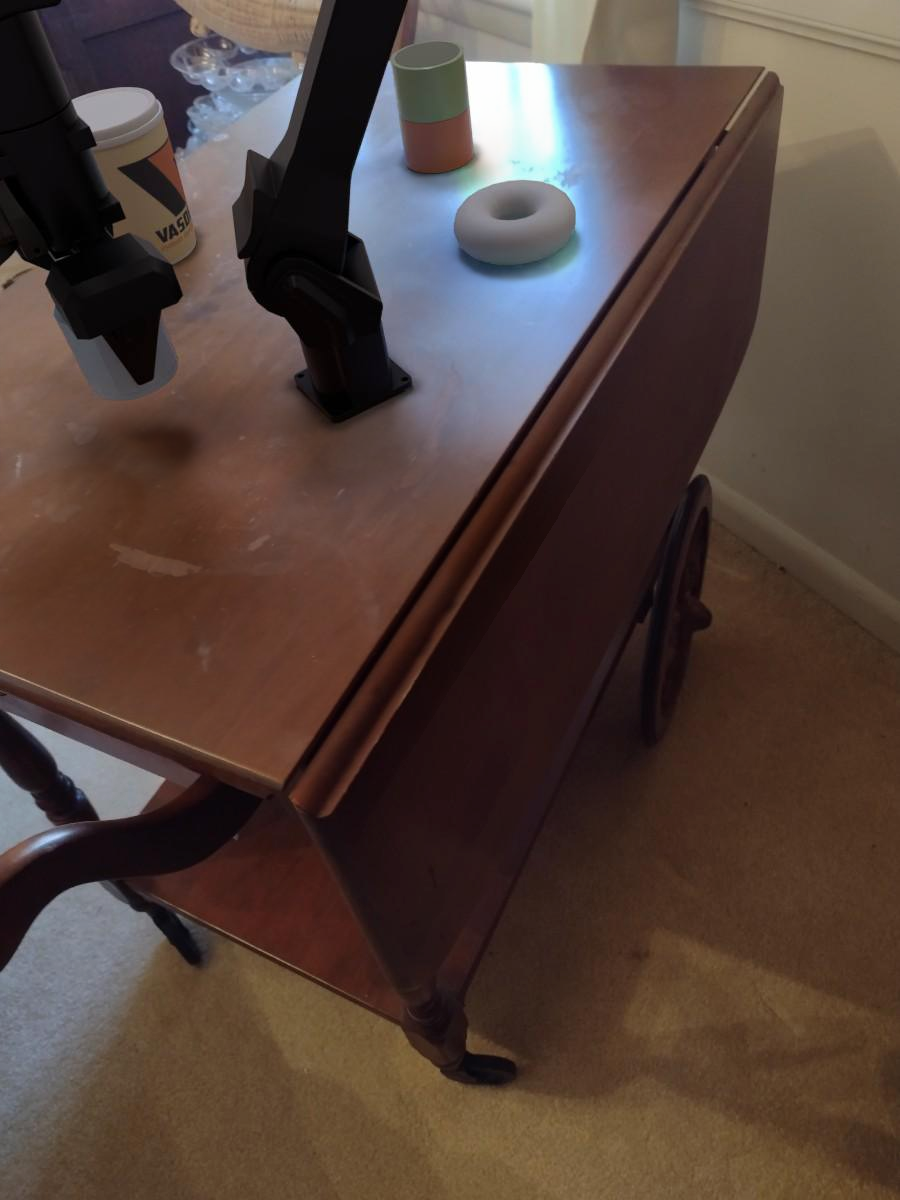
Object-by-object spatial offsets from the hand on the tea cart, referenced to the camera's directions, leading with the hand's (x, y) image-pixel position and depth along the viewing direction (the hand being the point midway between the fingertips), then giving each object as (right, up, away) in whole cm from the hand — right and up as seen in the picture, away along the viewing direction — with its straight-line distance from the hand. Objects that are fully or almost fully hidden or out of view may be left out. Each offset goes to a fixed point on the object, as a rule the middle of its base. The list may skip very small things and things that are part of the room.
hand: (129, 359), depth 60 cm
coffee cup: (-5, +15, +22) cm, 27 cm away
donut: (+27, +14, +15) cm, 34 cm away
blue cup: (0, -1, +1) cm, 1 cm away
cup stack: (+20, +26, +27) cm, 43 cm away
